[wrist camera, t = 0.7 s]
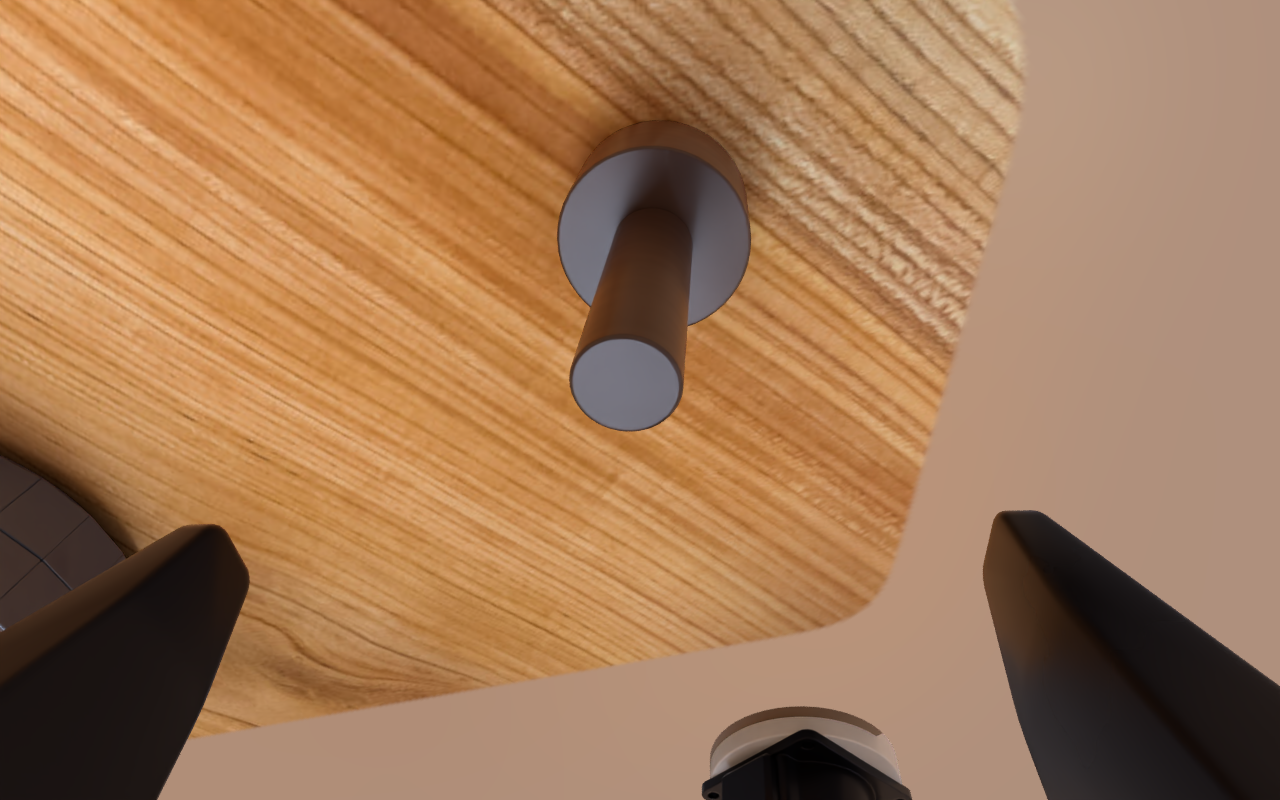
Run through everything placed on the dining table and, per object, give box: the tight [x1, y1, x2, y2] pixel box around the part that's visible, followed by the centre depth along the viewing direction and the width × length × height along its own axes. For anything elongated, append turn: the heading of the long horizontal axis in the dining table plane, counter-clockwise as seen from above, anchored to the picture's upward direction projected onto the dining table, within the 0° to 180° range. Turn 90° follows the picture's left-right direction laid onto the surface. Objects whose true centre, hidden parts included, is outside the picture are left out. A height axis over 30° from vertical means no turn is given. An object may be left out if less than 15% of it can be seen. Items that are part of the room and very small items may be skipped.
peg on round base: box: [557, 121, 751, 431], centre depth 15 cm, size 4×4×8 cm
